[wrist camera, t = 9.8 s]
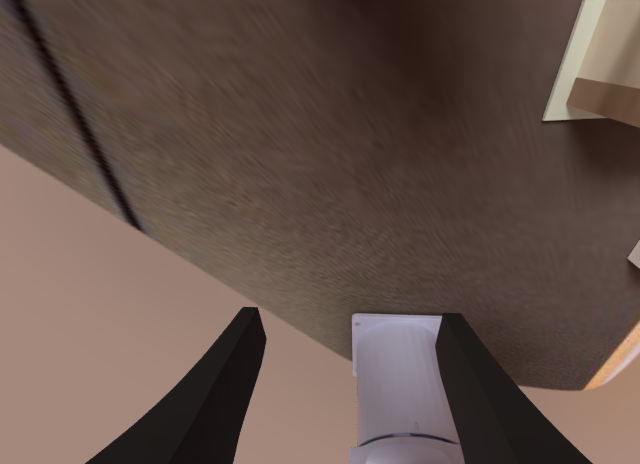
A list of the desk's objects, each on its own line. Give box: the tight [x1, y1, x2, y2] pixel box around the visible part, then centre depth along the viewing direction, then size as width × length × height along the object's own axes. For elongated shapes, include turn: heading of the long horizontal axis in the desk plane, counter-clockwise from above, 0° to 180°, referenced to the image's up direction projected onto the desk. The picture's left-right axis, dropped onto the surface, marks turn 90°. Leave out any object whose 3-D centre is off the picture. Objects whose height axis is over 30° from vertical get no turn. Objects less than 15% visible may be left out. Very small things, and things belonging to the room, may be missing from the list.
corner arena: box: [542, 0, 640, 268], centre depth 13 cm, size 20×13×2 cm, turn 4°
